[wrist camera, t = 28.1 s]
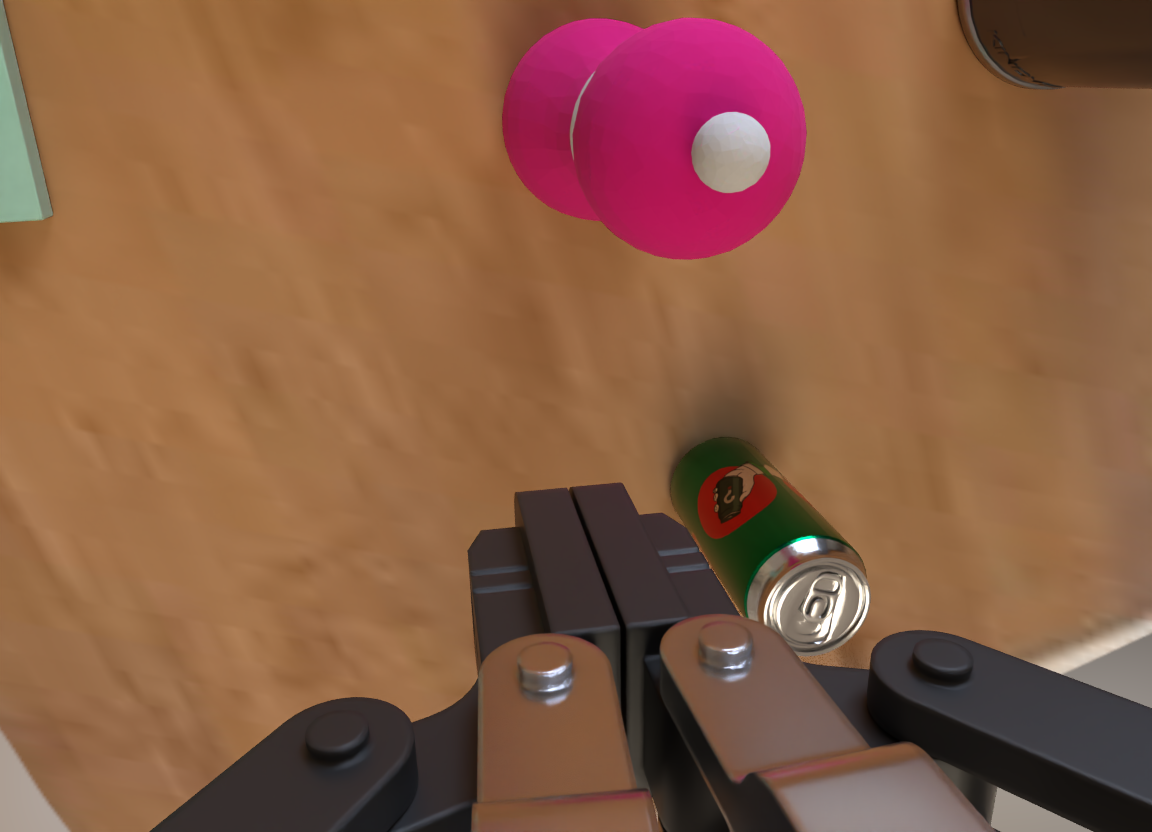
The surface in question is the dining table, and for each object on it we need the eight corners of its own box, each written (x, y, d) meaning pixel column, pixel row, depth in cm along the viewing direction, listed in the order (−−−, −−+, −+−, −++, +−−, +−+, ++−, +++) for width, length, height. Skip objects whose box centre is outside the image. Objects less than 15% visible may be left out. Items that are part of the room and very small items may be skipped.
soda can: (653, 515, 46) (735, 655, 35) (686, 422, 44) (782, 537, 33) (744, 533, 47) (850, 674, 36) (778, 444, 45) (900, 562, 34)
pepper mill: (616, 231, 40) (802, 362, 22) (464, 163, 38) (528, 244, 20) (688, 72, 39) (956, 68, 20) (533, -9, 36) (673, -95, 18)
